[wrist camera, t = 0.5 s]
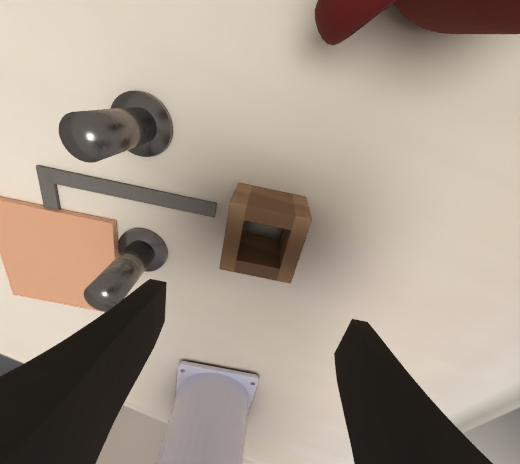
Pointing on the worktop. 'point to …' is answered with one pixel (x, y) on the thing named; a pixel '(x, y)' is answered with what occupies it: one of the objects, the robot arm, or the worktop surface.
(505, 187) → the worktop surface
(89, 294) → the post
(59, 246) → the pad
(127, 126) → the post
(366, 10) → the mug
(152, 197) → the grey flat l-shaped piece
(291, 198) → the open wooden crate
